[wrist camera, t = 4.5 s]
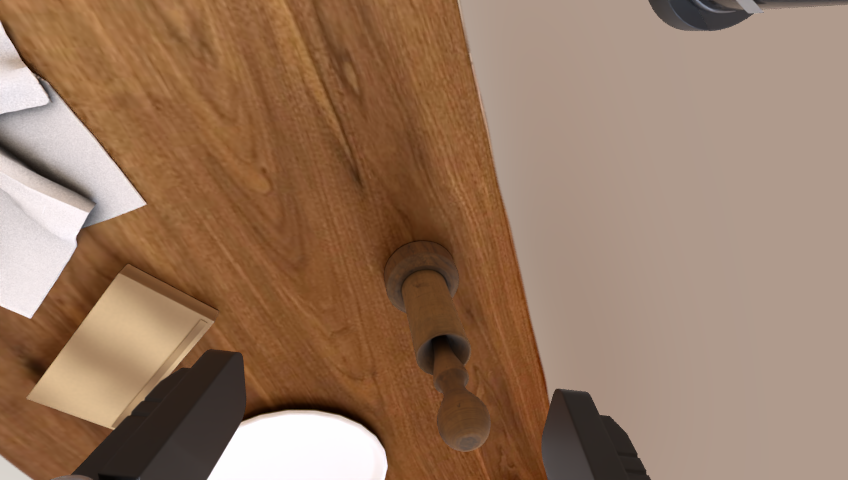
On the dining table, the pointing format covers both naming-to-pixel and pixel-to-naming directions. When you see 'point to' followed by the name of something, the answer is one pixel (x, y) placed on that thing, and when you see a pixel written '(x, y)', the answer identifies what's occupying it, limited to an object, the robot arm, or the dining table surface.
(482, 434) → the mortar and pestle
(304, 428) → the plate
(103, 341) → the cutting board
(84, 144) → the cloth
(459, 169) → the dining table surface
